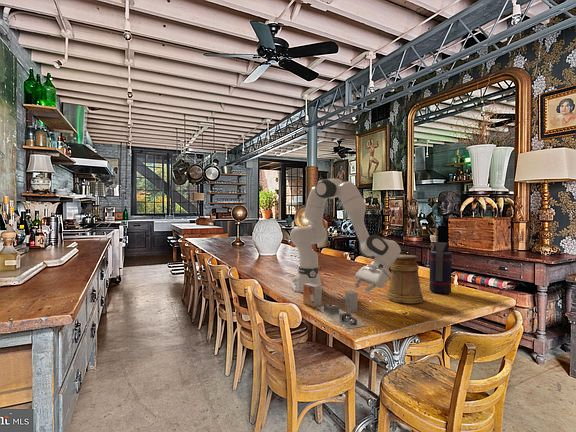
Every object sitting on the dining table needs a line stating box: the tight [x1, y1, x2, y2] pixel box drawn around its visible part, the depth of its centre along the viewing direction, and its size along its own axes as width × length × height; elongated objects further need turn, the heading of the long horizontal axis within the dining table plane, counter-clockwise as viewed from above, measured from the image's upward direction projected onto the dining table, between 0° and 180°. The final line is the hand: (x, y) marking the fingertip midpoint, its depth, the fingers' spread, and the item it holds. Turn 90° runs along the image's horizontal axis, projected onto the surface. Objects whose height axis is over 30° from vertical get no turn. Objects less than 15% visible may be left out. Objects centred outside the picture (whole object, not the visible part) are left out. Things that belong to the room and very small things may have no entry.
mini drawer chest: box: [344, 290, 358, 313], centre depth 163 cm, size 5×4×9 cm
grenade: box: [428, 241, 453, 295], centre depth 197 cm, size 14×12×30 cm
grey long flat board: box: [315, 303, 368, 330], centre depth 154 cm, size 30×10×4 cm, turn 21°
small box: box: [302, 283, 323, 308], centre depth 172 cm, size 8×6×10 cm
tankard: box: [386, 254, 424, 304], centre depth 183 cm, size 18×24×25 cm
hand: (361, 288), depth 165 cm, fingers open, 8 cm apart
